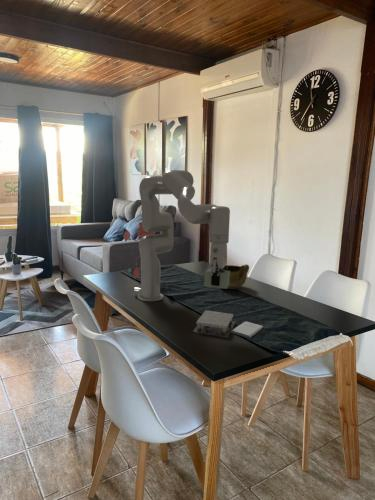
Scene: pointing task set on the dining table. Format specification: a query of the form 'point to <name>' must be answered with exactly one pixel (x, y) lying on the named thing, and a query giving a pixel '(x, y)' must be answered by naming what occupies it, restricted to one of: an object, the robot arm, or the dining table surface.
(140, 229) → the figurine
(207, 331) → the chassis
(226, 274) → the pale green block
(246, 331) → the external hard drive
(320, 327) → the dining table surface
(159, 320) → the dining table surface
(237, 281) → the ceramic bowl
